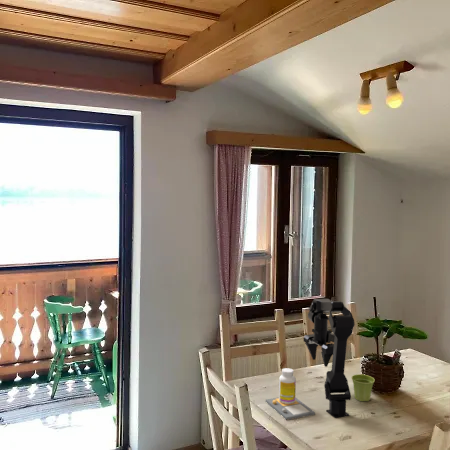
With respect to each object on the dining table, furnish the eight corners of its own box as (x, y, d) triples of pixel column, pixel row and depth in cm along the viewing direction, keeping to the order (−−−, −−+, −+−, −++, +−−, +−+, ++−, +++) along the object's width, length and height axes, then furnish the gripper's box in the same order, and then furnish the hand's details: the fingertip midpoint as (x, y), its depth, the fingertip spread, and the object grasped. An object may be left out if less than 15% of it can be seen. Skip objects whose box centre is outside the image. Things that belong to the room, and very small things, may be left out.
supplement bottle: (297, 404, 198) (297, 373, 197) (280, 404, 197) (281, 373, 196) (293, 397, 204) (293, 367, 203) (277, 397, 204) (277, 367, 203)
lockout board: (314, 414, 191) (314, 409, 191) (286, 420, 187) (286, 414, 186) (292, 397, 207) (292, 392, 207) (265, 401, 202) (265, 397, 202)
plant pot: (377, 397, 208) (377, 377, 207) (369, 405, 200) (370, 384, 199) (355, 392, 213) (356, 372, 212) (347, 399, 205) (348, 379, 205)
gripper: (349, 331, 207) (348, 368, 209) (324, 320, 225) (323, 354, 226) (327, 334, 203) (326, 371, 204) (303, 322, 220) (302, 357, 221)
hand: (319, 363), depth 214 cm, fingers open, 9 cm apart
